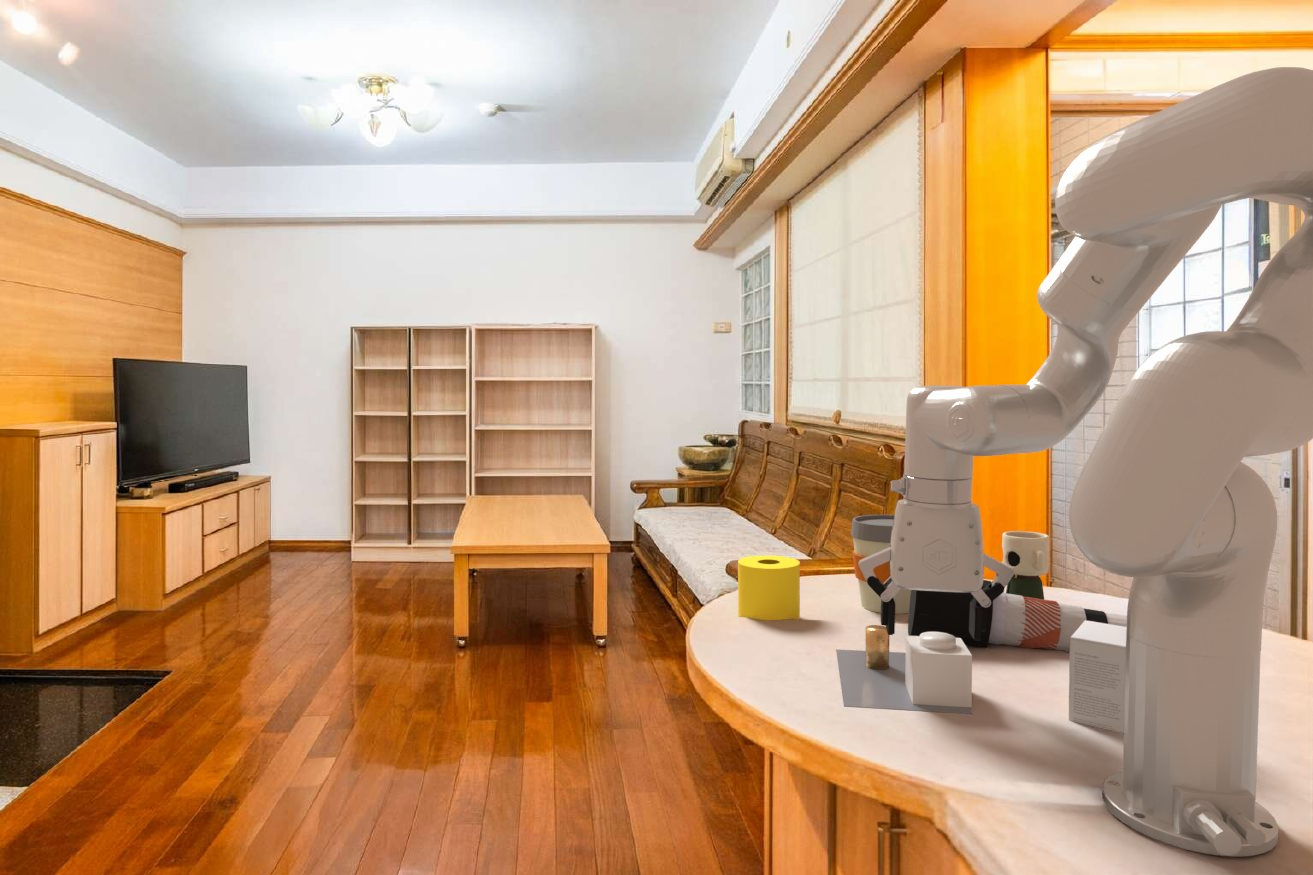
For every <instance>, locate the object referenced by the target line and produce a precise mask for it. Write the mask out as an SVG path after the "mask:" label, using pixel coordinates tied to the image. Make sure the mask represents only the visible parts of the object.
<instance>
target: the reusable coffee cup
mask: <svg viewBox="0 0 1313 875" xmlns="http://www.w3.org/2000/svg"><path fill="white" fill-rule="evenodd" d="M894 515H895V514H865V515H860V516H854V517H853V518H852V522H851V529H850V530H851V532H850V536H851V537H852V540H853V541H852V542H853V548H854V549H853V550H852V559H853V560H852V561H853V566H854V576H855V578H856V579H857V580H858V588H859V589H858V590H859V596H860V603H861V604H860V605H861V607H862V608H863V607H864V608H863V609H865V608H866V609H865V610H867V609H868V610H867V611H870V612H875V613H879V614H881V598H880V597H879V596H878V595H877V594H876V593H875V592H874V590H873V589H872V588H871V587H870V586H869V585H868V583H867V581H866V579H865V577H864V575H863V573H862V571H861V569H860V567H859V564H858V563H859V561H860V560H861V559H863V558H866V557H868V556H870V555H872V554H875V553H877V552H879V551H882V550H884V549H886V548H888V547H890V543H891V534H892V526H893V520H894ZM873 572H874V574H875V576H876V577H877V578H878V579H879V580H880V581H881V582H882V583H884V582H885V581H886V580H887V579H888V578H889V577H890V576H891V575H890V572H889V561H888V562H886V563H883V564H881V565H879V566H876V567H875V568H874V569H873ZM910 596H911V590H909V589H903V588H901V589H900V590H899V591H898V593H897V594H896V595H895V596H894V597H893V599H894V601H895V615H898V614H899V615H900V614H901V615H902V614H909V606H910Z"/></svg>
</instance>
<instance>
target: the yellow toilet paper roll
mask: <svg viewBox="0 0 1313 875" xmlns="http://www.w3.org/2000/svg"><path fill="white" fill-rule="evenodd" d="M800 563H801V562H800V560H798V559H796V558H793V557H788V556H782V555H781V556H780V555H752V556H746V557H745V556H744V557H741V558H739V559H738V561H737V581H738V582H737V586H738V587H737V594H738V595H737V597H738V598H737V601H738V602H737V603H738V604H737V607H738V609H737V612H738V613H737V614H738V616H737V617H738V618H750V619H754V620H761V621H763V620H764V621H781V620H799V619H801V618H800V617H801V614H800V612H801V608H800V606H801V605H800V604H801V596H800V595H801V591H800V590H801V588H800V584H801V582H800V580H801V575H800V574H801V572H800V571H801V568H800V567H801V565H800Z"/></svg>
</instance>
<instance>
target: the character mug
mask: <svg viewBox="0 0 1313 875" xmlns="http://www.w3.org/2000/svg"><path fill="white" fill-rule="evenodd" d="M1001 537H1002V538H1001V541H1002V543H1001V547H1002V556H1003V557H1002V561H1001V563H1003V564H1005V565H1007V566H1009V567H1010V568H1011V569H1012V570H1013V571H1014V575H1013V576H1012V578H1011V580H1010V581H1009V583H1008V584H1007V586H1006V591H1005V593H1007V594H1014V595H1020V596H1024V597H1031V598H1037V599H1044V600H1045V594H1044V588H1043V587H1044V586H1043V580H1042V579H1041V576H1044V575H1047V574H1049V569H1050V535H1048V534H1046V533H1041V532H1035V531H1024V530H1022V531H1021V530H1011V531H1005V532H1003V533H1002V536H1001Z"/></svg>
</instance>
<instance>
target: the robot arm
mask: <svg viewBox="0 0 1313 875" xmlns="http://www.w3.org/2000/svg"><path fill="white" fill-rule="evenodd" d="M1055 191H1056V192H1055V197H1054V198H1055V199H1054V207H1055V214H1056V217H1057V220H1058V223H1059V224H1060V225H1061V227H1062V228H1063V229H1064V230H1065V231H1066V232H1068V233H1069V234H1070V235H1071V236H1072V237H1073V239H1072V241H1071V242H1070V243H1069V245H1068V246H1067V247H1066V249H1065V250H1064V251H1063V254H1061V256H1060V258H1059V259H1058V260H1057V261H1056V262H1055V264H1054V266H1052V268H1051V270H1050V271H1049V272H1048V274H1047V275H1046V276H1045V278H1044V279H1043V281H1042V282H1041V284H1040V285H1039V287H1038V289H1037V294H1036V296H1037V303H1038V305H1039V307H1040V309H1041V311H1042V312H1043V313H1044V314H1045V315H1046V316H1047V317H1048V318H1049V319H1050V320H1051V321H1052V322H1053V323H1054V324H1055V325H1056V326H1057V334H1056V339H1055V342H1054V345H1053V347H1052V349H1051V351H1050V353H1049V355H1048V356H1047V358H1046V359H1045V361H1044V362H1043V364H1041V366H1040V367H1039V369H1038V370H1037V371H1036V373H1035V374H1034V375H1033V377H1032V378H1031V379H1030V380H1029V381H1028V382H1027V383H1026V384H996V385H993V384H992V385H971V386H960V385H920V386H916V387H913V388H912V389H910V390H909V392H908V394H907V396H906V409H905V410H906V411H905V412H906V416H905V444H904V470H903V474H902V477H901V478H900V479H898V478H897V480H895V479H894V480H891V483H890V491H891V492H892V493H893V492H897V493H898V494H900V495H902V496H903V498H902V499H899V500H897V502H896V506H895V510H894V514H893V515H894V520H893V526H892V534H891V543H890V547H888V548H886V549H884V550H882V551H879V552H877V553H875V554H872V555H870V556H868V557H866V558H863V559H861V560H860V561H859V563H858V564H859V567H860V569H861V571H862V573H863V575H864V577H865V579H866V581H867V583H868V585H869V586H870V587H871V588H872V589H873V590H874V592H875V593H876V594H877V595H878V596H879V597H880V598H881V613H880V626H885V627H886V630H887V633H888V635H889V636H893V635H895V634H896V633H895V632H896V631H895V628H896V627H895V626H896V614H895V601H894V599H893V597H894V596H895V595H896V594H897V593H898V591H899V590H900V589H901V588H903V589H909V590H923V591H941V592H963V593H968V592H971V594H972V595H973V596H974V597H973V600H972V602H970V615H969V633H970V634H971V636H972V637H973V639H975V640H976V641H981V631H982V632H985V631H986V619H987V607H989V606H990V605H991V602H992V601H993V600H995V599H996V598H997V597H998V596H999V595H1001V594H1002V593H1003V592H1004V593H1005V588H1007V584H1008V583H1009V581H1010V580H1011V578H1012V576H1013V575H1014V571H1013V570H1012V569H1011V568H1010V567H1009V566H1007V565H1005V564H1003V563H1002V561H999V560H997V559H995V558H993V557H992V556H990V555H988V554H986V553H984V538H983V524H982V517H981V516H982V515H981V511H980V506H979V505H977V504H975V503H974V502H972V500H973V498H972V496H973V494H972V493H973V475H974V474H973V472H974V457H992V456H1006V455H1015V454H1030V453H1031V454H1032V453H1039V452H1044V451H1046V450H1049V449H1051V448H1053V447H1054V446H1056V445H1058V444H1059V443H1061V442H1062V441H1063V440H1064V439H1065V438H1066V437H1068V436H1069V435H1070V434H1071V433H1072V431H1074V429H1076V427H1077V426H1078V425H1079V424H1080V422H1082V420H1083V419H1084V418H1085V417H1086V416H1087V415H1088V413H1090V411H1091V409H1093V407H1094V406H1096V404H1097V403H1098V401H1099V400H1100V398H1101V397H1102V396H1103V394H1104V393H1105V391H1106V389H1107V387H1108V385H1109V383H1110V380H1111V377H1112V374H1113V371H1114V367H1115V365H1116V361H1117V357H1118V350H1119V340H1120V338H1121V335H1122V334H1123V332H1124V331H1125V329H1126V328H1127V327H1128V325H1129V324H1131V322H1132V321H1133V319H1134V318H1135V317H1136V316H1137V315H1138V313H1139V312H1140V311H1141V309H1142V308H1143V307H1144V306H1145V304H1146V303H1147V302H1148V301H1149V300H1150V299H1151V297H1152V296H1153V295H1154V294H1155V292H1156V291H1157V290H1158V289H1159V287H1160V286H1161V285H1163V283H1164V282H1165V281H1166V279H1167V278H1168V276H1170V274H1171V273H1172V272H1173V271H1174V270H1175V268H1176V267H1177V266H1178V265H1179V264H1180V263H1181V261H1182V260H1183V258H1184V257H1185V256H1186V255H1187V254H1188V253H1189V251H1190V250H1191V249H1192V248H1193V246H1195V244H1196V243H1197V242H1198V241H1199V239H1200V238H1201V237H1202V235H1203V234H1204V233H1205V232H1206V230H1207V229H1208V228H1209V227H1210V225H1211V224H1212V222H1214V220H1215V218H1216V217H1217V216H1218V213H1219V211H1220V210H1221V207H1222V205H1226V204H1230V203H1233V202H1237V201H1240V200H1247V199H1252V200H1253V199H1254V200H1258V201H1263V202H1270V203H1274V204H1280V205H1287V206H1294V207H1296V208H1298V209H1300V210H1301V212H1303V214H1304V219H1303V222H1302V224H1301V225H1300V228H1298V230H1297V231H1296V232H1295V233H1294V234H1293V236H1291V238H1290V239H1289V240H1288V241H1286V242H1285V244H1283V246H1282V247H1281V248H1280V249H1279V250H1278V251H1277V252H1276V254H1274V256H1273V257H1272V259H1271V260H1270V261H1269V262H1268V263H1267V265H1266V266H1265V268H1264V269H1263V270H1262V272H1261V274H1260V276H1259V278H1258V279H1257V281H1256V283H1255V285H1254V288H1252V292H1251V294H1250V295H1249V297H1248V298H1247V300H1246V302H1245V304H1244V305H1243V307H1242V308H1241V310H1240V311H1239V313H1238V315H1237V316H1236V318H1235V319H1234V321H1233V322H1232V324H1231V325H1230V326H1229V327H1228V328H1227V330H1226V331H1222V330H1218V331H1217V330H1215V331H1214V330H1213V331H1212V330H1211V331H1202V332H1194V333H1191V334H1187V335H1183V336H1180V337H1177V338H1175V339H1174V340H1171V341H1168V343H1165V344H1164V345H1162V346H1161V347H1160V348H1158V349H1156V350H1155V351H1153V353H1152V354H1150V355H1149V356H1148V357H1147V358H1146V359H1145V360H1144V361H1143V362H1142V364H1140V365H1139V367H1138V368H1137V369H1136V370H1135V372H1134V373H1133V374H1132V376H1131V378H1130V379H1129V380H1128V382H1127V383H1126V385H1125V387H1124V389H1123V391H1122V392H1121V394H1120V397H1119V398H1118V400H1117V402H1116V404H1115V406H1114V408H1113V410H1112V412H1111V414H1110V416H1109V417H1108V419H1107V422H1106V423H1105V425H1104V427H1103V429H1102V431H1101V433H1100V435H1099V436H1098V438H1097V440H1096V442H1095V444H1094V446H1093V448H1092V450H1091V452H1090V453H1089V456H1088V457H1087V459H1086V462H1085V464H1084V466H1083V468H1082V470H1081V472H1080V473H1079V475H1078V478H1077V481H1076V483H1075V485H1074V487H1073V490H1072V493H1071V498H1070V502H1069V509H1068V519H1069V528H1070V532H1071V535H1072V538H1073V541H1074V543H1075V544H1076V546H1077V548H1078V550H1079V551H1080V552H1081V554H1082V555H1083V556H1084V557H1085V559H1087V560H1088V561H1089V562H1090V563H1091V564H1093V565H1094V566H1096V567H1098V569H1101V570H1103V571H1105V572H1107V573H1109V574H1114V575H1117V576H1122V577H1126V578H1127V577H1128V578H1132V581H1131V585H1130V588H1129V592H1128V593H1129V594H1128V600H1127V610H1126V612H1127V613H1126V616H1127V630H1126V659H1125V703H1124V733H1123V748H1122V749H1123V753H1122V754H1123V756H1122V758H1123V760H1122V770H1121V771H1119V772H1115V773H1113V774H1112V775H1110V776H1108V777H1106V779H1105V780H1104V782H1103V786H1102V794H1101V795H1102V801H1103V803H1104V805H1105V806H1106V808H1107V809H1108V811H1109V812H1110V813H1111V814H1112V815H1113V816H1114V817H1115V818H1117V819H1118V820H1119V821H1121V822H1122V823H1124V824H1125V825H1127V826H1128V827H1130V828H1132V829H1133V830H1135V831H1137V832H1138V833H1141V834H1143V835H1146V836H1147V837H1148V838H1151V839H1154V840H1157V841H1159V842H1162V843H1164V844H1167V845H1170V846H1173V847H1175V848H1180V849H1182V850H1186V851H1191V852H1195V853H1200V854H1204V853H1205V854H1206V855H1211V854H1212V855H1211V856H1218V855H1220V857H1233V858H1234V857H1235V858H1237V857H1238V858H1239V857H1253V856H1257V855H1262V854H1264V853H1265V854H1266V853H1267V852H1269V851H1271V850H1273V849H1274V848H1275V846H1277V844H1278V840H1279V824H1278V822H1277V820H1276V818H1275V817H1274V816H1273V815H1272V814H1271V813H1270V811H1268V809H1267V808H1265V807H1264V806H1263V805H1262V804H1261V803H1259V802H1257V801H1256V799H1257V798H1256V796H1257V795H1256V794H1257V769H1258V768H1257V766H1258V742H1259V741H1258V739H1259V708H1260V683H1261V682H1260V681H1261V653H1262V652H1261V651H1262V638H1263V616H1264V615H1263V614H1264V604H1265V596H1266V595H1265V593H1266V589H1267V588H1266V587H1267V583H1268V582H1267V581H1268V575H1269V571H1270V567H1271V562H1272V557H1273V555H1274V554H1273V553H1274V549H1275V544H1276V539H1277V530H1278V512H1277V504H1276V502H1275V499H1274V495H1273V493H1272V491H1271V489H1270V487H1269V486H1268V484H1267V483H1266V481H1265V479H1264V478H1262V476H1261V475H1259V473H1258V472H1257V471H1255V470H1254V469H1253V468H1252V467H1250V466H1249V465H1247V464H1246V463H1244V462H1242V461H1243V460H1244V458H1246V457H1247V458H1248V457H1249V458H1250V457H1260V456H1267V455H1272V454H1273V455H1275V454H1280V453H1285V452H1289V451H1292V450H1295V449H1298V448H1301V447H1302V446H1304V445H1305V444H1307V443H1310V442H1311V441H1312V440H1313V69H1309V68H1305V67H1299V66H1298V67H1296V66H1295V67H1294V66H1278V67H1272V68H1266V69H1262V70H1257V71H1253V72H1250V73H1247V74H1244V75H1240V76H1238V77H1236V78H1233V79H1231V80H1228V81H1225V82H1224V83H1221V84H1219V85H1216V86H1214V87H1212V88H1210V89H1207V90H1205V91H1203V92H1201V93H1198V94H1196V95H1194V96H1191V97H1189V98H1187V99H1185V100H1183V101H1180V102H1178V103H1176V104H1173V105H1171V106H1169V107H1166V108H1164V109H1162V110H1160V111H1156V112H1154V113H1153V114H1150V115H1148V116H1145V117H1143V118H1141V119H1139V120H1137V121H1135V122H1132V123H1130V124H1128V125H1125V126H1124V127H1121V128H1119V129H1117V130H1115V131H1112V132H1111V133H1109V134H1107V135H1106V136H1103V137H1102V138H1100V139H1098V140H1097V141H1096V142H1093V143H1092V144H1091V145H1090V146H1088V147H1087V148H1085V149H1084V150H1083V151H1081V152H1080V154H1078V155H1077V156H1076V158H1075V159H1073V160H1072V162H1070V165H1069V166H1068V167H1067V168H1066V170H1065V171H1064V173H1063V174H1062V177H1061V178H1060V180H1059V183H1058V186H1057V188H1056V190H1055ZM888 561H889V572H890V575H891V576H890V577H889V578H888V579H887V580H886V581H885V582H884V583H882V582H881V581H880V580H879V579H878V578H877V577H876V576H875V574H874V572H873V569H874V568H875V567H876V566H879V565H881V564H883V563H886V562H888ZM984 567H985V568H987V570H990V571H992V572H994V573H995V576H994V578H993V580H992V581H991V583H990V584H988V585H987V586H986V587H985V588H984V589H981V587H982V585H983V580H984V577H985V576H984V574H985V573H984V572H985V571H984V570H985V568H984ZM1111 782H1112V783H1116V784H1118V785H1114V784H1111ZM1205 854H1204V855H1205Z"/></svg>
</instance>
